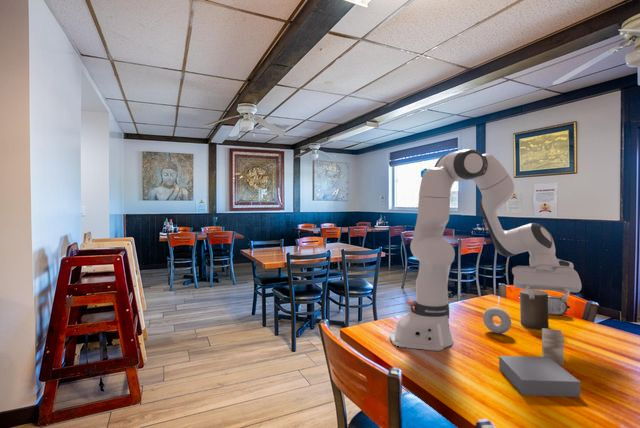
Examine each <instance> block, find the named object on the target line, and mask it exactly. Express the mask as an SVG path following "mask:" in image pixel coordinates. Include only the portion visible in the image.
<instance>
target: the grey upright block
mask: <svg viewBox="0 0 640 428" xmlns="http://www.w3.org/2000/svg"><path fill="white" fill-rule="evenodd" d="M541 345H542V346H541V349H542V351H541V352H542V353H541V355H542V356H541V357H549V358H550V359H552V360H553V361H554V362H556V363H557V364H558V365H560V366H561V365H562V366H563V365H565V363H564V361H565V356H564V353H565V352H564V351H565V349H564V347H565V346H564V334H563V332H562V330H559V329H552V328H548V329H545V328H542V330H541Z"/></svg>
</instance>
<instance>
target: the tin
mask: <svg viewBox="0 0 640 428" xmlns="http://www.w3.org/2000/svg"><path fill="white" fill-rule="evenodd" d="M561 300H562V299H561V296H558V295H550V294H548V316H549V315H550V316H563V315H565V314H566V313H567V311H568V301H567V302H562V301H561Z"/></svg>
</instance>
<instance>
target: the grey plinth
mask: <svg viewBox="0 0 640 428" xmlns="http://www.w3.org/2000/svg"><path fill="white" fill-rule="evenodd" d="M498 364H499V365H498V369H499V370H500V372H501V373H502V374H503V375H504V377H506V379H508V381H509V382H510V383H511V384H512V385H513V386H514V388H516V390H517V391H518V392H519V393H520V394H521V396H532V397H534V396H535V397H536V396H537V397H538V396H539V397H561V398H563V397H567V398H581V381H580V380H579V379H577V378H576V377H575V376H574V375H572V374H570V372H569V371H567V370H566V369H565V368H564V367H562V366H561V365H560V364H557V363H556V362H554V361H553V360H552V359H550V358H549V357H543V356H525V355H524V356H523V355H522V356H521V355H520V356H517V355H498Z"/></svg>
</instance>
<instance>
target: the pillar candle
mask: <svg viewBox="0 0 640 428" xmlns="http://www.w3.org/2000/svg"><path fill="white" fill-rule="evenodd" d="M530 291H531V293H534V299H529V295H528V294H527V292H526V291H525V289H522V290H520V291H519V311H520V312H519V313H520V314H519V315H520V319H519V320H520V325H521V326H522V327H525V328H529V329H534V330H541V331H542V328H545V329H549V328H550V327H549V314H548V295H549V293H548V292H546V291H545V290H535V289H530Z"/></svg>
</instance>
